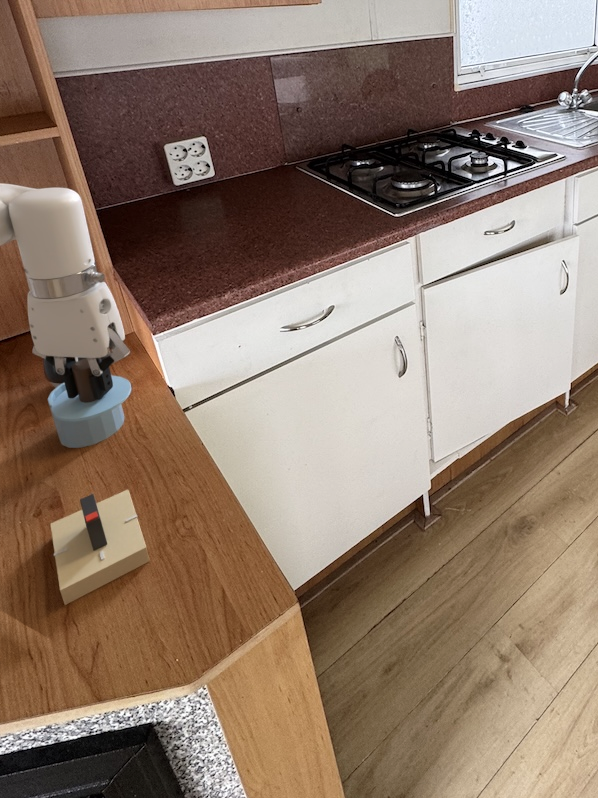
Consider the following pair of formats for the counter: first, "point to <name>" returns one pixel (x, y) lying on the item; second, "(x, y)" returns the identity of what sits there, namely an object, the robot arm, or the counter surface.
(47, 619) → the counter surface
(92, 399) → the pot lid
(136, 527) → the beige switch box
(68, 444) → the pot
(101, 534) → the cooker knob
